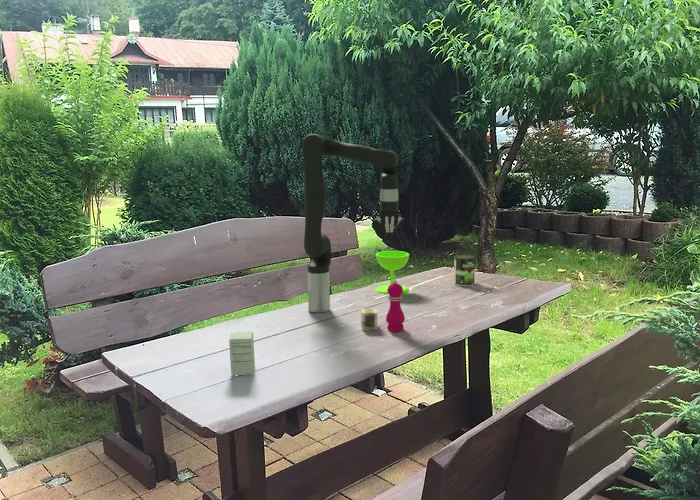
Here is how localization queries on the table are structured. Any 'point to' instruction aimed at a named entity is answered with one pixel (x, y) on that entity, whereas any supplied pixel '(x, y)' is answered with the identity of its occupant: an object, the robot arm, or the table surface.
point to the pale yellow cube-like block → (369, 319)
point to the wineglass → (391, 266)
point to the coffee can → (464, 270)
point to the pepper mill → (395, 308)
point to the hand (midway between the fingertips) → (389, 240)
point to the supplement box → (242, 353)
